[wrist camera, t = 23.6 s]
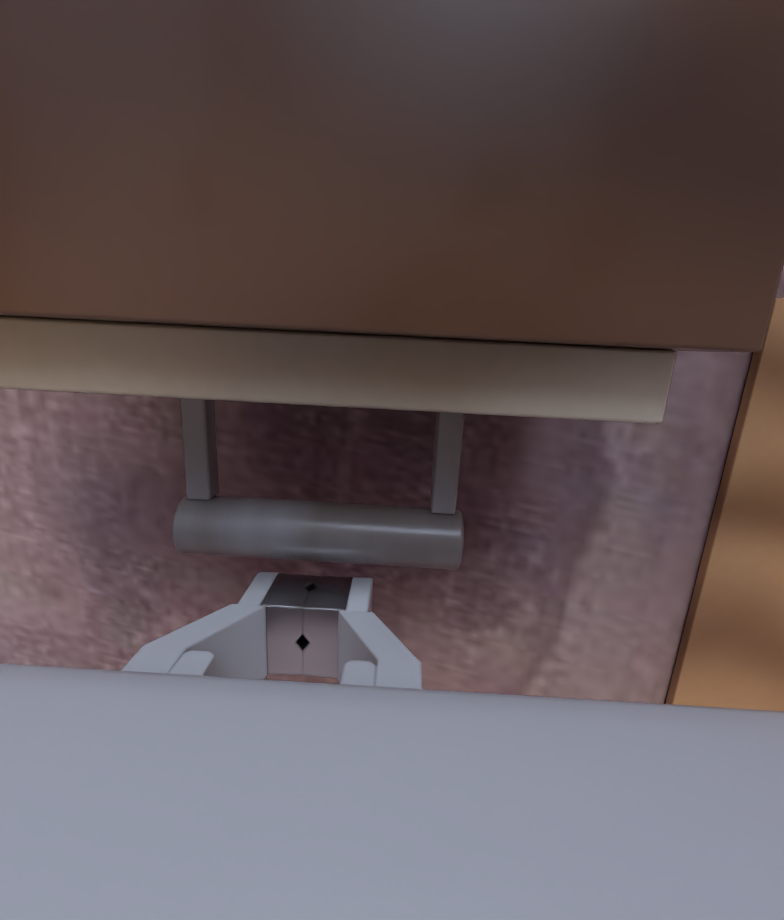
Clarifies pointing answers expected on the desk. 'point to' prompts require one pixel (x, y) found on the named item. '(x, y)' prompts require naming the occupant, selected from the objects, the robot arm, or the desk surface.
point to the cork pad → (743, 557)
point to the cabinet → (398, 167)
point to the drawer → (330, 384)
